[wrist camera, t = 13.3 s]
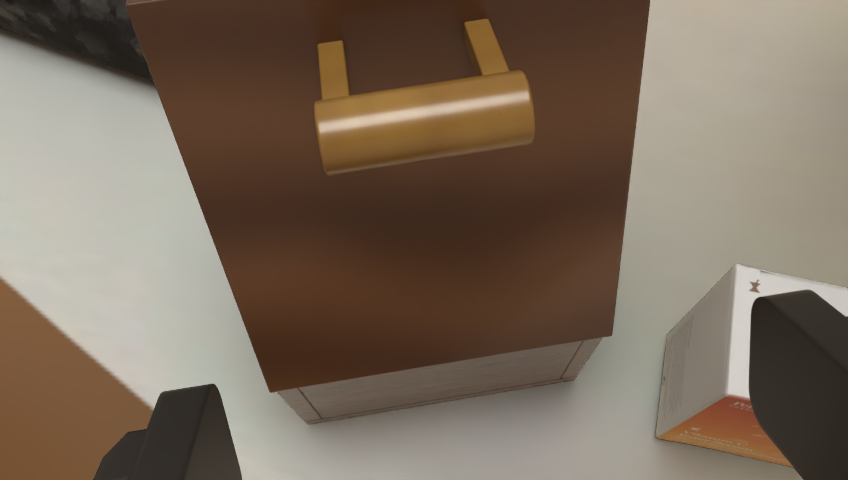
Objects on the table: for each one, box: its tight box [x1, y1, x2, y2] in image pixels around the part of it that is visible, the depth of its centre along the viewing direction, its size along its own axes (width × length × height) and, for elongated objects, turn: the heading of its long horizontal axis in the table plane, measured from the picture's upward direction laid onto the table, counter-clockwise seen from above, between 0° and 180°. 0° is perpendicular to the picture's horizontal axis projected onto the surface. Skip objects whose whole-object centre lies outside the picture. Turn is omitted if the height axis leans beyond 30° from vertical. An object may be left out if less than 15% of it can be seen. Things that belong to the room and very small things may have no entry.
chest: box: [277, 337, 603, 424], centre depth 40 cm, size 16×14×9 cm
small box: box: [656, 264, 848, 467], centre depth 36 cm, size 8×6×10 cm
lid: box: [126, 0, 650, 392], centre depth 25 cm, size 17×14×6 cm
